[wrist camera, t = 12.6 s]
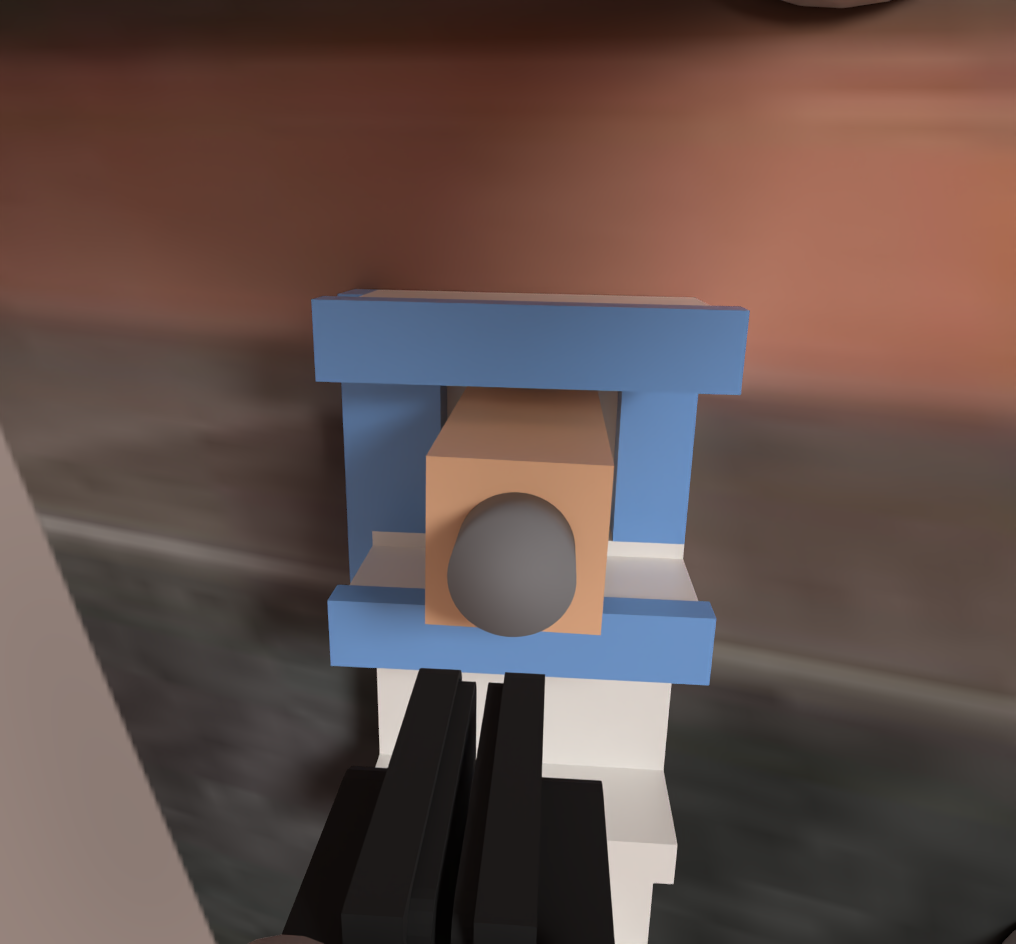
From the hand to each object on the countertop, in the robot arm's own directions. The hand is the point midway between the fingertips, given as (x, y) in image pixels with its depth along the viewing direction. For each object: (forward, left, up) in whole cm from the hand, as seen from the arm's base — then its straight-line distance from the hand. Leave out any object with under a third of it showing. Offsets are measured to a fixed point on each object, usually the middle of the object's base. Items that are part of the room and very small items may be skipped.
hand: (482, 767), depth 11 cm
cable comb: (+8, 0, -17) cm, 19 cm away
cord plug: (0, 0, -16) cm, 16 cm away
